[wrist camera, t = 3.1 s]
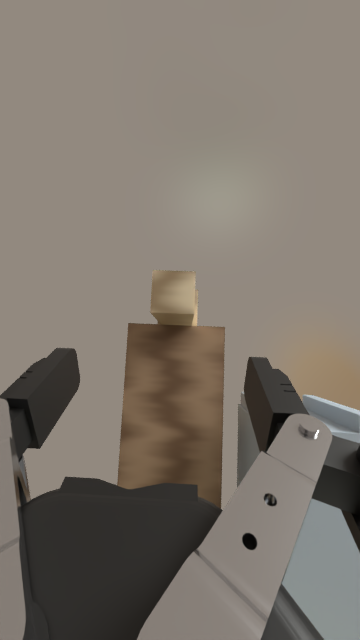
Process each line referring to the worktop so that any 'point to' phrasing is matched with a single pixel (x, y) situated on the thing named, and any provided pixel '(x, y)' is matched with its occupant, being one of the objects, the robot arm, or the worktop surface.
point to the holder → (318, 535)
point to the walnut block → (173, 408)
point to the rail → (174, 297)
